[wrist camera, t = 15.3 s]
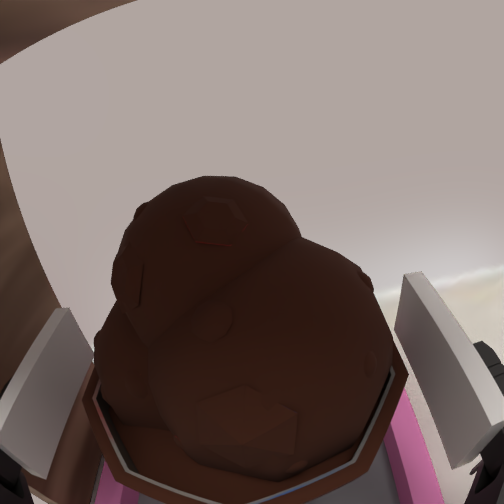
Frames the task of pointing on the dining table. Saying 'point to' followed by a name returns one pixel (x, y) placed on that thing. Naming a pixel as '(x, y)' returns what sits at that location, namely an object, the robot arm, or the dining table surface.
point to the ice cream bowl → (238, 355)
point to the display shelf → (40, 268)
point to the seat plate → (361, 489)
